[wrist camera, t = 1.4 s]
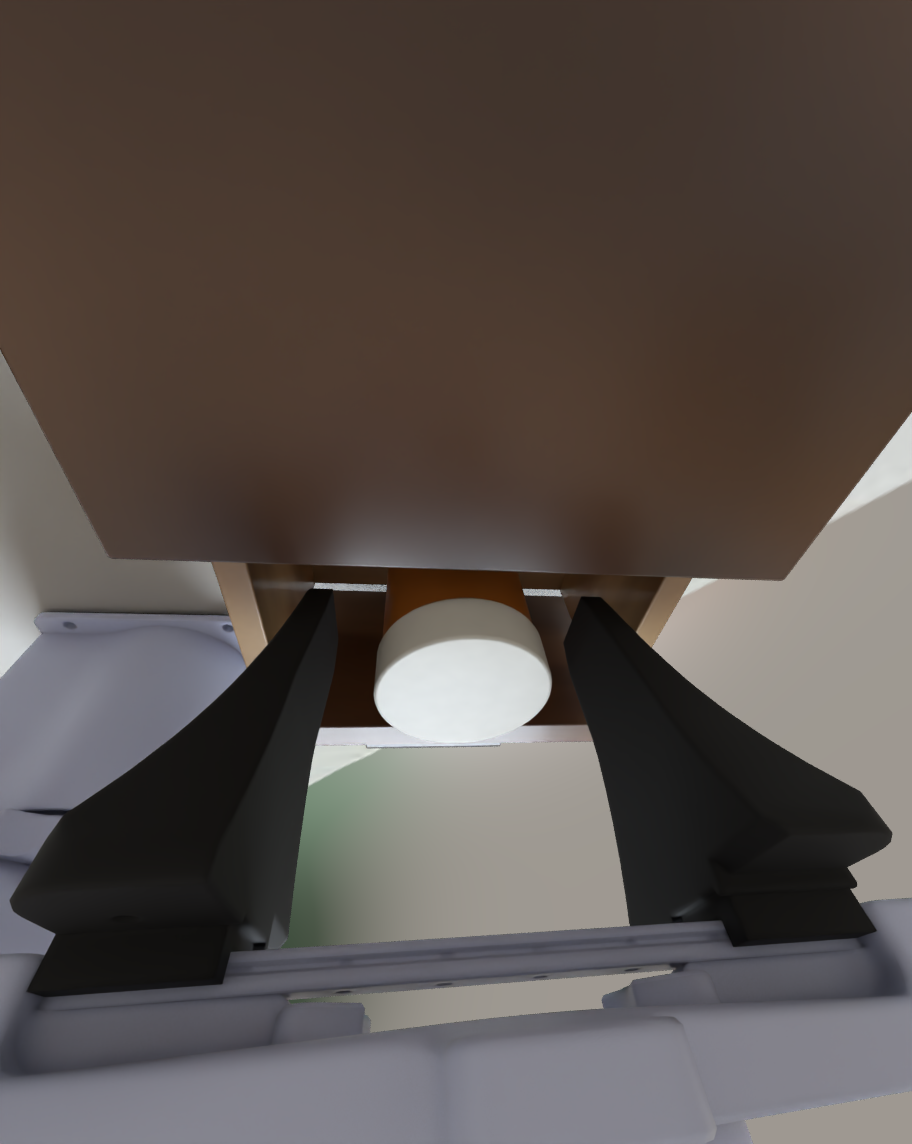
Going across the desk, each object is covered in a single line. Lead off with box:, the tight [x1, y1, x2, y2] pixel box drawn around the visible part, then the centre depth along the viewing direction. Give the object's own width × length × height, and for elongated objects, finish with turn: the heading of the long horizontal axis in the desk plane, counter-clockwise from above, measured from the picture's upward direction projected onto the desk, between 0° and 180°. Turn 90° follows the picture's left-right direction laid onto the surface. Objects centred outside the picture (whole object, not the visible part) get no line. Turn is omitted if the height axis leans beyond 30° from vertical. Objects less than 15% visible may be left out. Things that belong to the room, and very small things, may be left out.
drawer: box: [212, 562, 692, 748], centre depth 15 cm, size 17×13×7 cm
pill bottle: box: [373, 568, 552, 743], centre depth 13 cm, size 4×4×8 cm
